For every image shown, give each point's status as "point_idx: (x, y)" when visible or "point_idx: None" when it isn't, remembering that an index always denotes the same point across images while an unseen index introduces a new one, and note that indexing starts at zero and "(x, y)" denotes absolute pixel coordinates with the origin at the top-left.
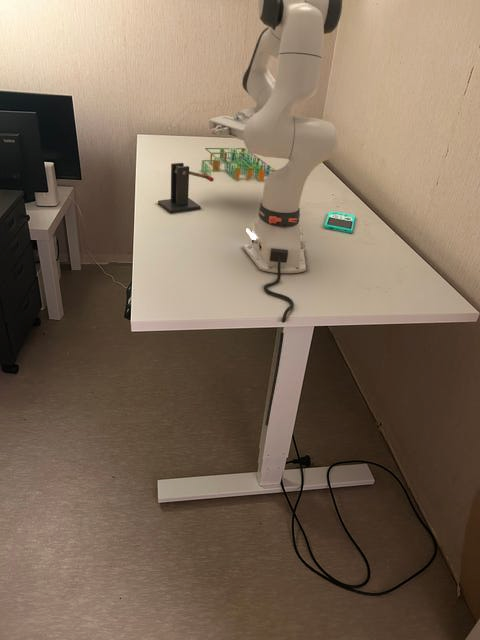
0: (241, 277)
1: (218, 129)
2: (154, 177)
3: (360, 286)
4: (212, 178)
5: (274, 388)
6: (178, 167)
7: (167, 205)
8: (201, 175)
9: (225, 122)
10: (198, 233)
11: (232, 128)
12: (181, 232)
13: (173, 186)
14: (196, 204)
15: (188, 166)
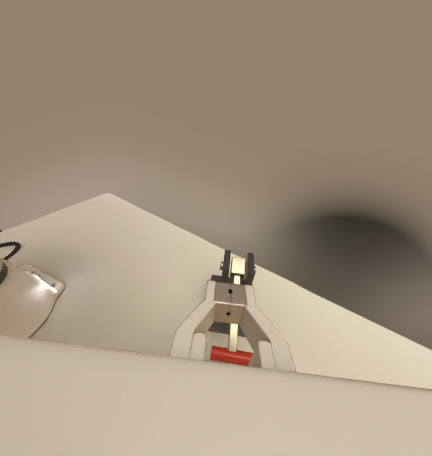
0: (52, 245)
1: (218, 300)
2: (409, 364)
3: None
4: (211, 353)
5: None
6: (226, 251)
7: (229, 280)
8: (230, 325)
9: (284, 429)
10: (143, 269)
11: (111, 350)
12: (160, 257)
13: (241, 280)
14: (213, 325)
15: (225, 269)
